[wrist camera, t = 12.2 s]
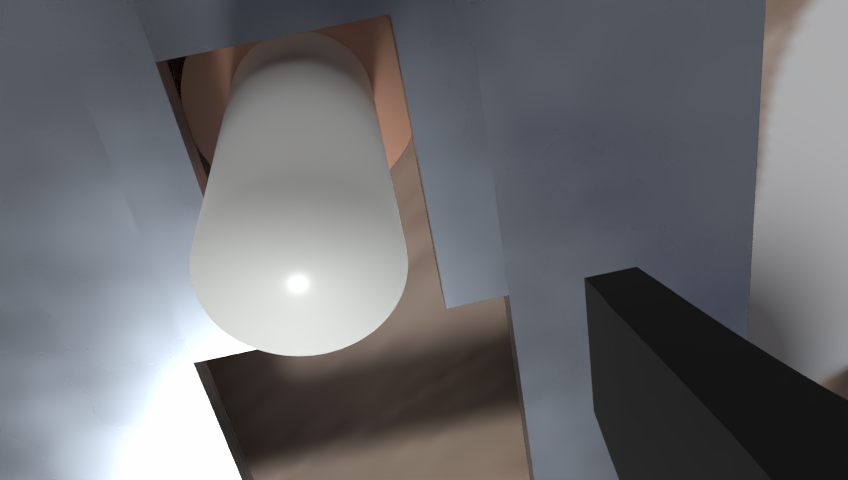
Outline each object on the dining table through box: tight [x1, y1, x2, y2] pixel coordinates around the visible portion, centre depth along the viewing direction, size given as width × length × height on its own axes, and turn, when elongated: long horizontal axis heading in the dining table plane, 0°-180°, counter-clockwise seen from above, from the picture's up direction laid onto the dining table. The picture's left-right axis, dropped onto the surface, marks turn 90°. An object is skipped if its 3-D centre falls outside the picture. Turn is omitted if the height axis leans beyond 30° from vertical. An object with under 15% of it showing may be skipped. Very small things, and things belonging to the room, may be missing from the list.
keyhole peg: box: [181, 14, 412, 356], centre depth 14 cm, size 5×5×8 cm
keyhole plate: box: [0, 0, 766, 480], centre depth 18 cm, size 18×20×3 cm
